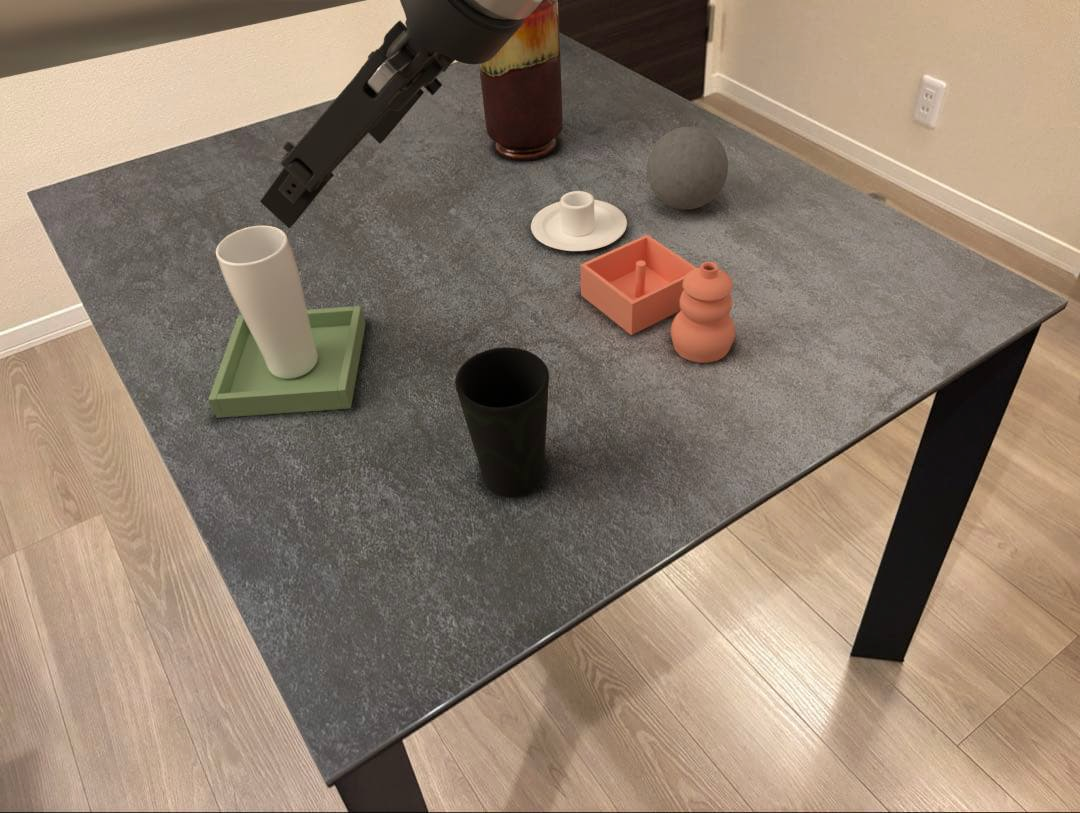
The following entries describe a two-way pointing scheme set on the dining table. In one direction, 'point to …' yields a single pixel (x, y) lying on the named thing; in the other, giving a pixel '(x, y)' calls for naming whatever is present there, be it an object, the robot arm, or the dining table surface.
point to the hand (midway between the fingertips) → (326, 168)
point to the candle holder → (578, 223)
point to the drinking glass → (270, 297)
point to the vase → (525, 88)
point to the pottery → (663, 296)
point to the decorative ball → (687, 168)
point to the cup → (506, 417)
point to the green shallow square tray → (325, 387)
